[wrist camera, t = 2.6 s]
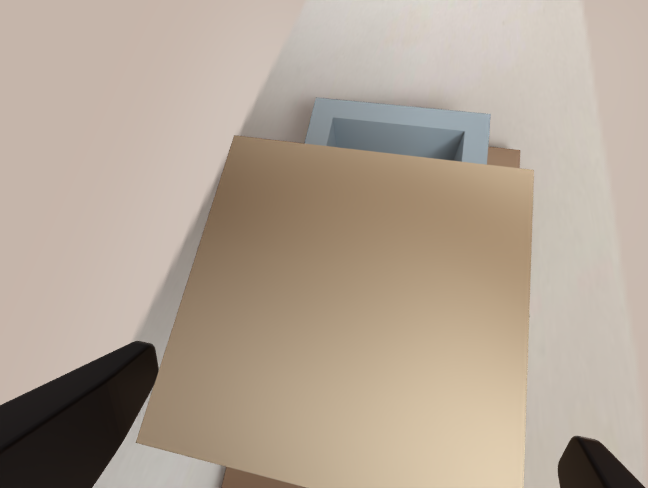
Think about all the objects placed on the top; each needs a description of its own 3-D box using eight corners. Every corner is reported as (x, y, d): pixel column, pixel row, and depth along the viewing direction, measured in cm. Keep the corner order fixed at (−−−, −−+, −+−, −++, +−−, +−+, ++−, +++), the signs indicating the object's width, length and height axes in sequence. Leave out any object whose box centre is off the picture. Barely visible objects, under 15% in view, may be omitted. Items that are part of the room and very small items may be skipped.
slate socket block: (461, 300, 17) (477, 287, 14) (288, 271, 18) (276, 254, 16) (475, 147, 19) (490, 114, 17) (321, 130, 20) (316, 97, 18)
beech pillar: (406, 425, 15) (522, 545, 4) (297, 400, 16) (135, 442, 5) (420, 313, 17) (533, 170, 5) (318, 295, 17) (234, 134, 6)
